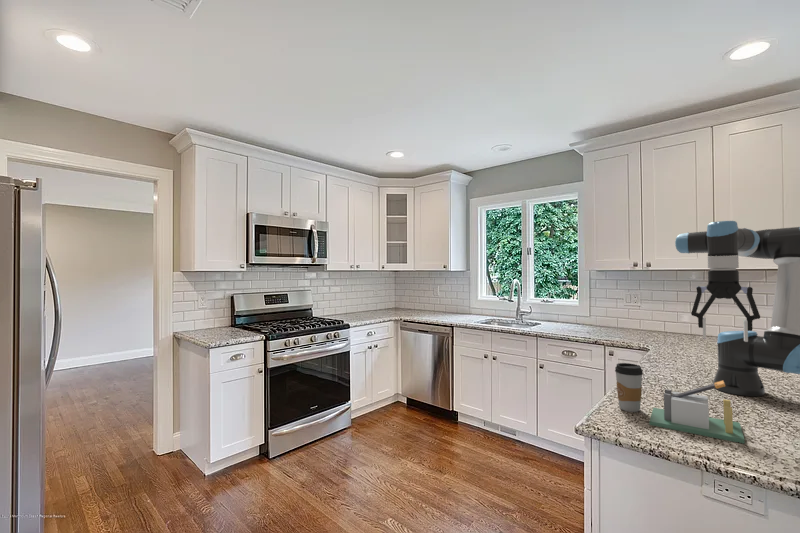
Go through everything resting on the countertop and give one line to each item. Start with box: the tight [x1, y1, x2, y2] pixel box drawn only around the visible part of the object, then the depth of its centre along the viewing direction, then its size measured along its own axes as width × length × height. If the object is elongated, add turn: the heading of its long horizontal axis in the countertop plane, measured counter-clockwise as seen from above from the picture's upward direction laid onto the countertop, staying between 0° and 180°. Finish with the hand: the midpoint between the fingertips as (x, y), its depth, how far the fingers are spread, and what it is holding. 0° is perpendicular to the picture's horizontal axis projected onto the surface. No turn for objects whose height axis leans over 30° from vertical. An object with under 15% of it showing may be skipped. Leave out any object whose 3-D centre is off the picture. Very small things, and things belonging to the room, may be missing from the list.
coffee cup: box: [614, 362, 644, 413], centre depth 132 cm, size 8×8×15 cm
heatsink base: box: [649, 388, 745, 444], centre depth 117 cm, size 22×14×9 cm, turn 52°
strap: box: [671, 380, 725, 398], centre depth 117 cm, size 16×4×1 cm, turn 52°
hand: (724, 339), depth 121 cm, fingers open, 9 cm apart
